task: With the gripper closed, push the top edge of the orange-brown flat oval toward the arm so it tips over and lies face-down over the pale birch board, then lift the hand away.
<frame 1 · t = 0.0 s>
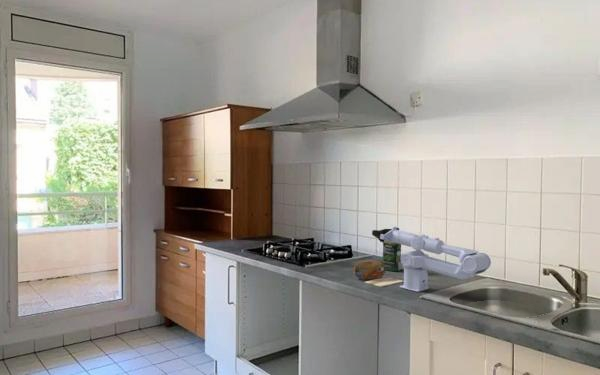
hand: (378, 231, 198), 22 cm above the table, tool horizontal, fingers open, 7 cm apart
birch board: (383, 282, 193), on the table
orange-brown flat oval: (369, 279, 200), on the table
coffee jar: (391, 270, 219), on the table
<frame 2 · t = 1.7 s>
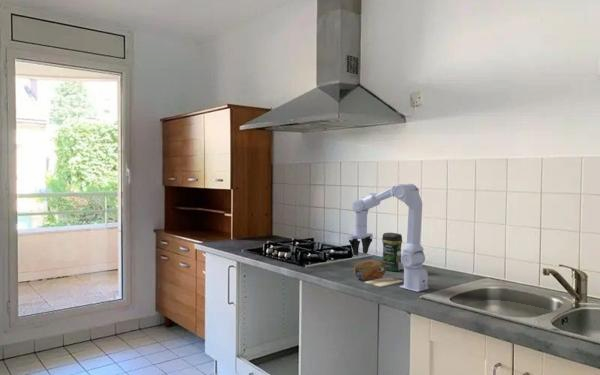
hand: (360, 254, 204), 10 cm above the table, tool pointing down, fingers open, 6 cm apart
nothing on the table moved.
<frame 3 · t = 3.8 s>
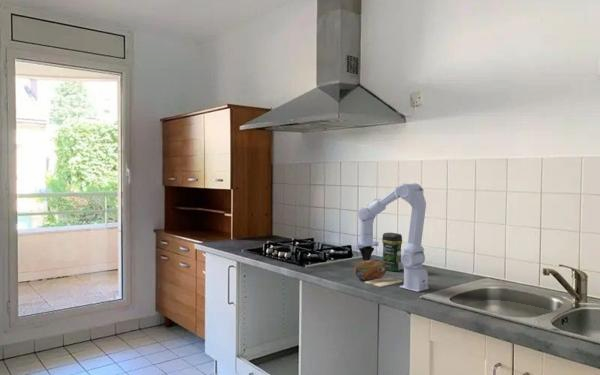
hand: (366, 262, 201), 7 cm above the table, tool pointing down, fingers closed
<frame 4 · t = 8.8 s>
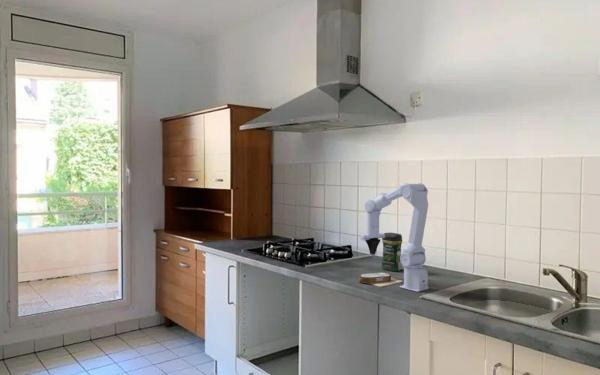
hand: (372, 254, 203), 10 cm above the table, tool pointing down, fingers closed
orange-brown flat oval: (370, 274, 198), point 2 cm above the table, touching birch board
everything else where it was.
at the end: orange-brown flat oval tilted 94°; orange-brown flat oval inside the target area (0.7 cm from its centre), point 2.0 cm above the table; the gripper is holding nothing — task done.
